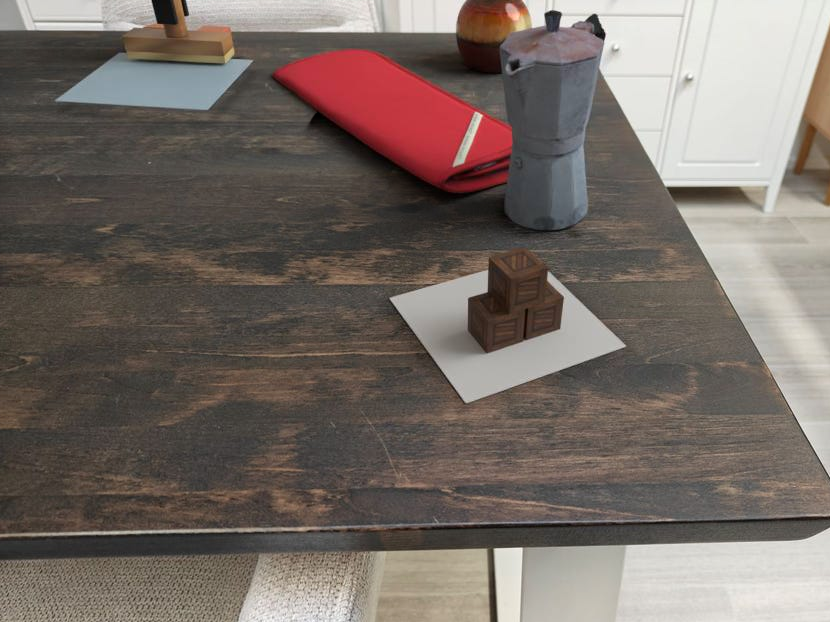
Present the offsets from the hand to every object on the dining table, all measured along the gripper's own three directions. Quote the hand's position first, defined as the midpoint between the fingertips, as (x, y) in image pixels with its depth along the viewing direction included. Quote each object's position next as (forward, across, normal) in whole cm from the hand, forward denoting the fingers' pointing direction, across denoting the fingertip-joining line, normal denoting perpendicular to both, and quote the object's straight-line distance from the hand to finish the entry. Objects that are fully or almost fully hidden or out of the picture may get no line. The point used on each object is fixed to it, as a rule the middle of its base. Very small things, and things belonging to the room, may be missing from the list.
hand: (173, 19), depth 103 cm
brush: (+5, 0, 0) cm, 5 cm away
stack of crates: (+7, -53, -50) cm, 74 cm away
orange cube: (+6, +4, +4) cm, 8 cm away
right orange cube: (+7, +4, -3) cm, 8 cm away
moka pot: (+7, -33, -53) cm, 63 cm away
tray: (+7, -8, 0) cm, 10 cm away
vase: (+7, +9, -44) cm, 45 cm away
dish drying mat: (+7, -14, -34) cm, 38 cm away
